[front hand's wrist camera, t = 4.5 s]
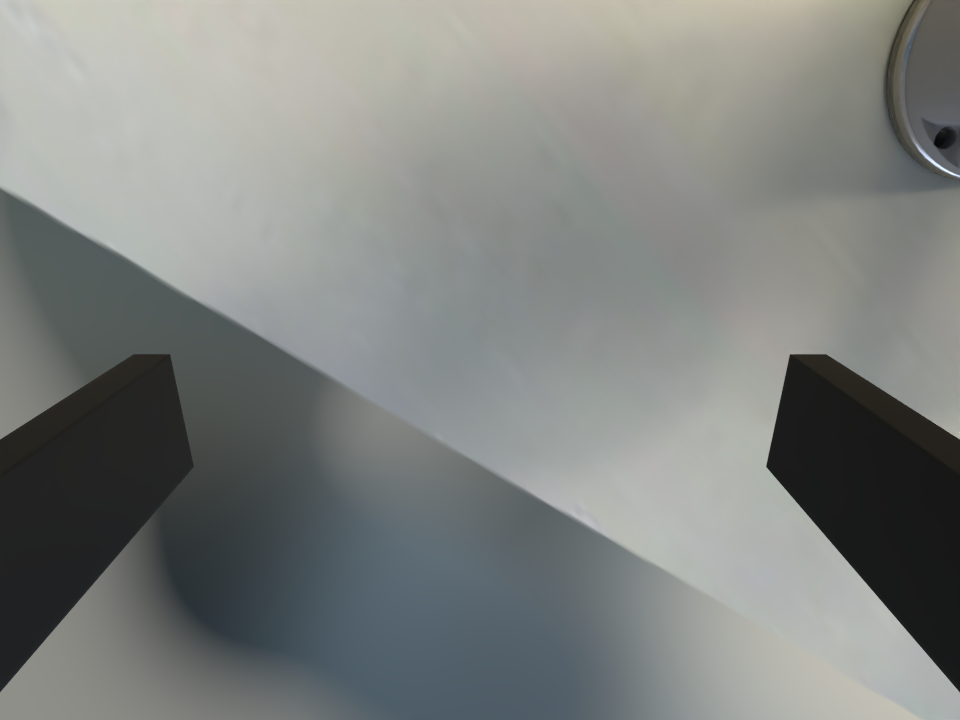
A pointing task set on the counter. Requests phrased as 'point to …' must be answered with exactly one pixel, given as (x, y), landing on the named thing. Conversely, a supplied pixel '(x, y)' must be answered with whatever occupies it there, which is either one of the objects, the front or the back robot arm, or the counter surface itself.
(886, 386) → the counter surface
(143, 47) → the counter surface
